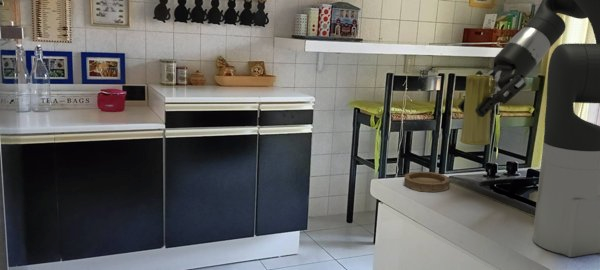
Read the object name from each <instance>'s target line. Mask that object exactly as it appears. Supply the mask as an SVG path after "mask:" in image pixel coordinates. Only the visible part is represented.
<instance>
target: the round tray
mask: <svg viewBox="0 0 600 270" xmlns="http://www.w3.org/2000/svg"><path fill="white" fill-rule="evenodd" d="M403 181H404V182H403V183H404V186H405V187H407V188H408V189H411V190H413V191H418V192H425V193H439V192H440V193H441V192H444V191H447V190H448V189H449V188H450V182H451V181H450V177H449V176H446V175H444V174H442V173H439V172H433V171H423V170H422V171H411V172H408V173H406V174H404V180H403Z"/></svg>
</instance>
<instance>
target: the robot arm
mask: <svg viewBox="0 0 600 270" xmlns="http://www.w3.org/2000/svg"><path fill="white" fill-rule="evenodd" d="M560 15H564V16H567V17H570V18H575V19H580V20H582V19H583V20H584V19H588V22H589V23H590V25H591V28H592V31H593V34H594V38H595V43H583V42H582V43H581V42H580V43H576V42H575V43H561V44H558V45H557V46H556V47H555V48H554V49H553V51H552V52H551V54H550V58H549V62H548V67H547V68H548V69H547V81H546V82H547V83H546V86H547V87H546V103H545V114H544V130H543V132H544V133H543V134H544V135H543V141H542V142H543V143H542V149H541V150H542V152H541V158H540V159H541V160H540V168H539V178H538V188H537V194H536V195H537V196H536V202H535V203H536V204H535V212H534V223H533V231H532V232H533V233H532V241H533V242H534V243H535V244H536V245H537V246H539V247H540V248H542V249H545V250H547V251H550V252H553V253H557V254H560V255H561V254H562V255H564V256H566V257H569V258H573V257H574V258H575V257H580V256H581V257H582V256H587V255H593V254H598V253H600V125H598V124H596V123H592V122H590V121H588V120H585V119H584V118H582V117H580V116H579V115H578V114H576V113H575V107H574V104H579V103H580V104H600V0H541V2H540V4H539V6H538V8H537V10H536V11H535V14H534V15H533V16H532V18H531V19H530V20H529V21H528V22H526V24H525V25H524V26H523V27H522V28H521V29H520V30H519V31H518V32H517V33H516V34H515V35H514V36H512V38H511V39H510V40H509V41H508V42H507V43H506V44H505V46H503V47H502V48H501V50H500V51H499V52H498V53H497V54H496V55H495V57H494V58H493V67H492V68H490V69H489V70H487V71H486V72H482V70H478V71H476V73H475V74H474V75H490V76H493V83H492V86H491V91H490V93H489V95H488V97H489V98H487V97H486V98H485V99H484V100H483V101H482V103H481V104H480V105H479V106H478V107H477V108H476V109H475V112H476V113H477V114H478V115H479V116H480V117H484V116H485V115H486V114H487V113H488V112H489V111H490V110H491V111H492V108H493V107H494V106H498V105H499V104H500V103H501V104H503V105H505V104H507V103H508V102H509V101H510V100H511V99H512V98H513V97H515V96H516V95H517V94H518V93H519V92H520V91H521V90H523V89H524V88H525V87H526V86H527V83H526V81H525V79H526V77H527V76H528V75H529V74H530V73H531V72H532V71H533V70H534V69H535V68H536V66H537V65H538V64H539V63H540V62H541V61H542V60H543V58H544V57H545V56H546V54H547V53H548V51H549V50H550V49H551V47H553V46H554V45H555V43H556V42H557V41H558V40H559V39H560V37H562V35H563V33H565V31H566V27H567V25H566V22H565V21H564V19H563V18H562V16H560ZM464 91H465V92H466V87H465V88H464ZM507 93H508V94H507ZM464 103H465V97H464V98H463V100H461V101H460V103H458V107H457V108H458V109H459V111H461V112H462V113H464Z"/></svg>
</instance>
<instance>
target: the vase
mask: <svg viewBox="0 0 600 270" xmlns="http://www.w3.org/2000/svg"><path fill="white" fill-rule="evenodd" d="M492 83H493V76H490V75H475V74H467V75H466V81H465V88H466V91H465V93H464V98H465V103H464V112H463V115H462V125H461V133H460V139H459V141H460V142H461V143H463V144H465V145H470V146H486V145H490V143H491V139H490V137H491V133H490V130H491V111H492V109H491V110H490V111H489V112H488V113H487V114H486V115H485V116H484V117H480V116H479V115H478V114H477V113H476V112H475V109H476V108H477V107H478V106H479V105H480V104H481V103H482V101H483V100H484V99H485V98H486V97H487V98H489V97H488V95H489V93H490V91H491V86H492Z"/></svg>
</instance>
